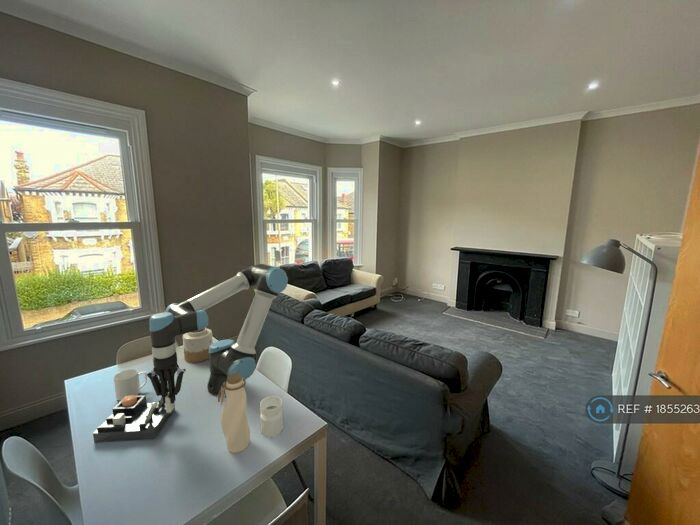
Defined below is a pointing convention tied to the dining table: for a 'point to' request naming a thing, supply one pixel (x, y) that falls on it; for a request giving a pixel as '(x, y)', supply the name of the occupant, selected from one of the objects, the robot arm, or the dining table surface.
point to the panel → (133, 422)
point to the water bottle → (234, 413)
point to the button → (129, 401)
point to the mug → (128, 383)
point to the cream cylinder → (271, 416)
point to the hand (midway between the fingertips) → (170, 410)
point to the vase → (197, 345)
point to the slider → (119, 419)
